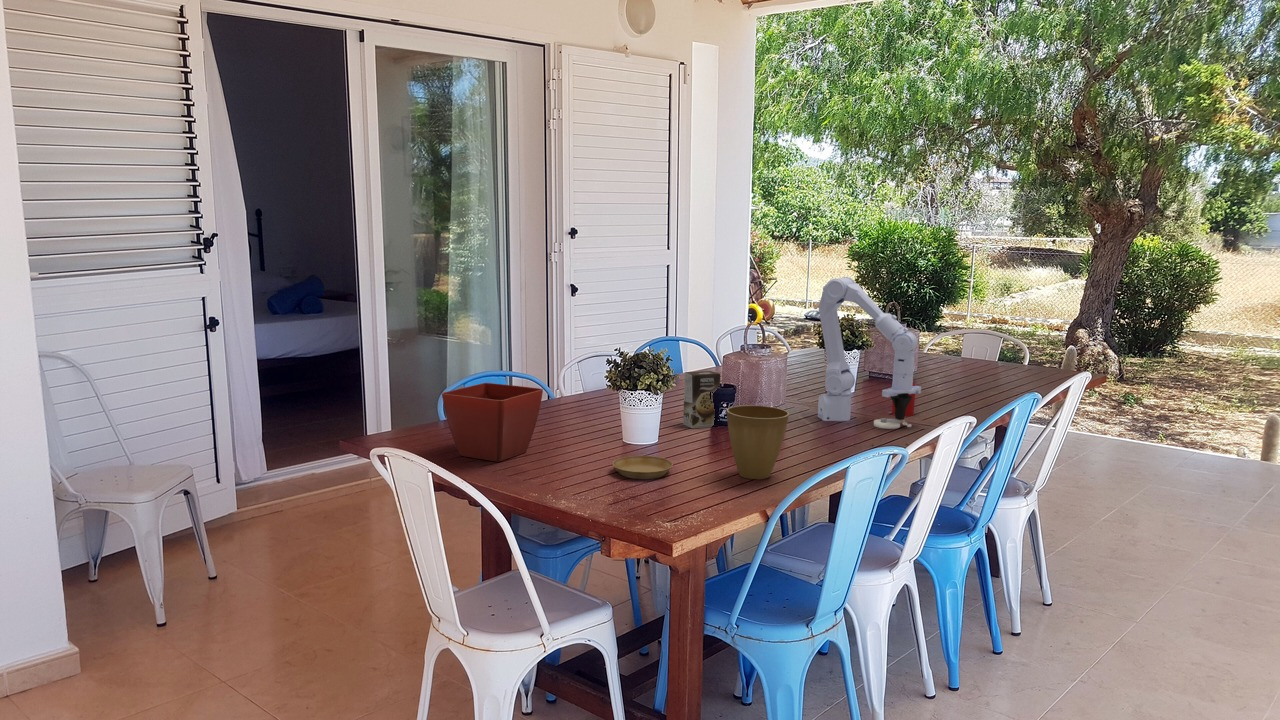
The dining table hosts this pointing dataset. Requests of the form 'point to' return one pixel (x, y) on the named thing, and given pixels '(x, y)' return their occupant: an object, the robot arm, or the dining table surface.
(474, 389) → the plant pot
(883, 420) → the white lever switch
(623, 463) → the plant saucer
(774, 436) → the plant pot
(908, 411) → the beverage can
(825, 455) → the dining table surface
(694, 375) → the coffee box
